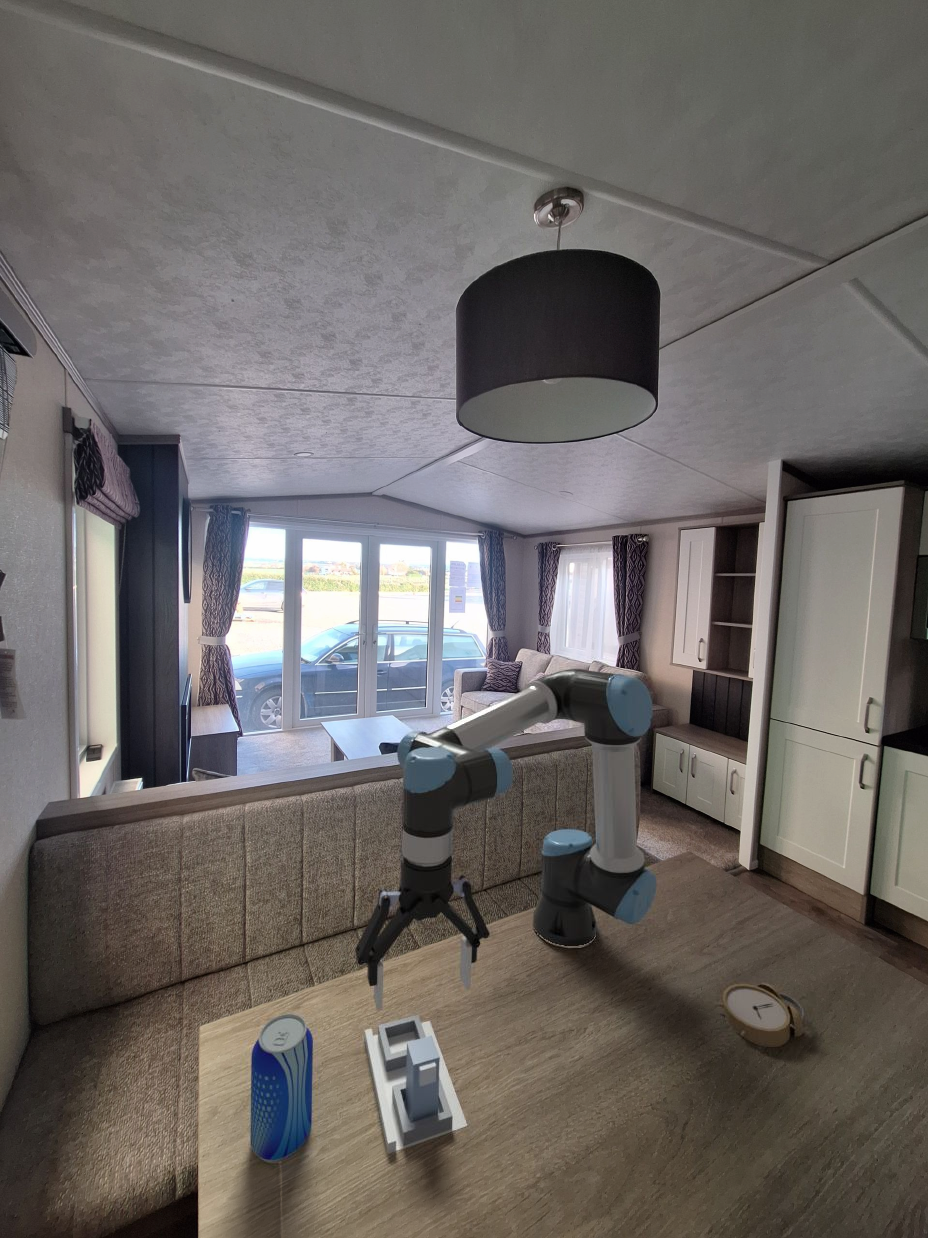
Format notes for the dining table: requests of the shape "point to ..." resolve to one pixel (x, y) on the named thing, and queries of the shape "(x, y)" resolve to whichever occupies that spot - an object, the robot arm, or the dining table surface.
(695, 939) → the dining table surface
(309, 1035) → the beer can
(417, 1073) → the plug
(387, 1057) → the panel
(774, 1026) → the alarm clock
